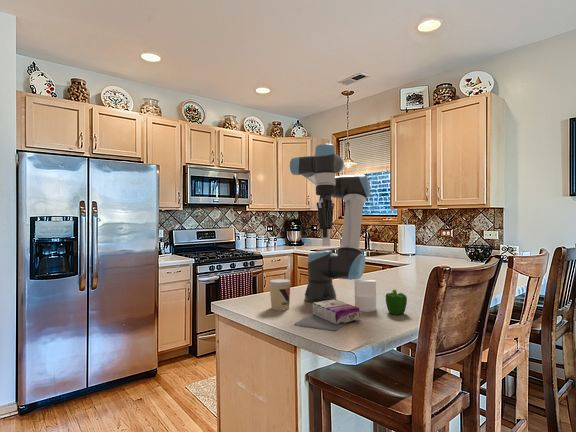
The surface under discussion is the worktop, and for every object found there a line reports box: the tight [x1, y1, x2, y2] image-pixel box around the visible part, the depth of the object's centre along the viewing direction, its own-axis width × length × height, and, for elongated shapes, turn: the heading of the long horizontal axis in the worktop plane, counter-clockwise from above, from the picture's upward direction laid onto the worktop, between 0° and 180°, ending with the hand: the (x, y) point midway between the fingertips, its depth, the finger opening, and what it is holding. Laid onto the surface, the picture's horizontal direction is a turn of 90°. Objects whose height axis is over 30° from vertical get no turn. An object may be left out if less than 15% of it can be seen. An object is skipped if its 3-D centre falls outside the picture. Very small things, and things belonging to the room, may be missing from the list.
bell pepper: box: [385, 289, 408, 316], centre depth 144 cm, size 8×8×10 cm
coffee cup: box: [268, 278, 292, 311], centre depth 154 cm, size 9×9×12 cm
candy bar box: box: [312, 299, 361, 324], centre depth 137 cm, size 11×5×16 cm
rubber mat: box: [294, 312, 346, 332], centre depth 133 cm, size 16×17×1 cm
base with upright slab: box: [354, 279, 377, 313], centre depth 151 cm, size 9×9×12 cm
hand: (326, 246), depth 136 cm, fingers closed
